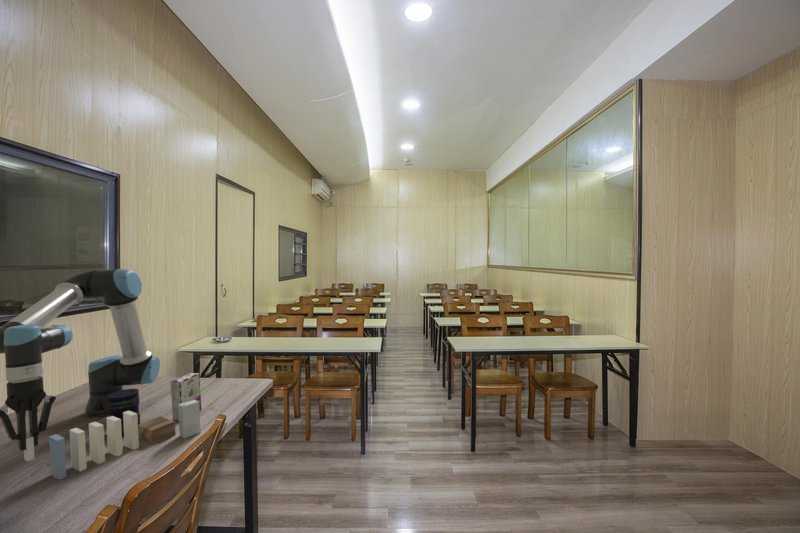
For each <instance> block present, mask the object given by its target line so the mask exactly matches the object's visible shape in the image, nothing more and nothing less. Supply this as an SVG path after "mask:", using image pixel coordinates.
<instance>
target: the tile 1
mask: <svg viewBox="0 0 800 533" xmlns="http://www.w3.org/2000/svg"><path fill="white" fill-rule="evenodd" d="M69 444H70V445H69V448H70V465H71V466H72V467H73V468H72V467H71V468H72V469H74V468H75V469H74V470H76V469H77V470H78V472H79V471H80V472H83V471H84V469H85V470H87V451H86V432H85V430H83V429H80V428H78V427H74V428H71V429H69ZM77 470H76V471H77ZM82 470H83V471H82Z"/></svg>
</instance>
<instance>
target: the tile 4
mask: <svg viewBox="0 0 800 533" xmlns="http://www.w3.org/2000/svg"><path fill="white" fill-rule="evenodd" d="M123 423H124V436H123V437H124V438H123V439H124V442H123V443H124V447H126V448H129V449H130V450H132V451H133V450H134V451H135V450H136V449H139V448H140V442H139V440H140V439H139V438H138V418H137V413H134V412H131V411H126V412H123Z"/></svg>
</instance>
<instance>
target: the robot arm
mask: <svg viewBox="0 0 800 533" xmlns="http://www.w3.org/2000/svg"><path fill="white" fill-rule="evenodd" d="M142 284H143V283H142V279H141V277H140V275H139V274H138V272H136V271H134V270H132V269H129V268H128V269H123V268H116V269H92V270H91V269H90V270H86V271H82V272H79V273H77V274H75V275H73V276H70V277H68V278H67V279H65V280H63V281H62V282H60V283H58V284H57V285H56V286H55V287H54V290H53V291H52V292H51V293H49V294H47V295H46V296H44V297H42V298H41V299H40V300H39V301H37V302H35V303H34V304H33V305H31V306H29V307H28V308H27V309H25V310H24V311H22V312H21V313H20V314H18V315H17V316H15V317H13V318H12V319H10V321H9V320H8V322H6V323H5V324H4V325H2V326H0V354H4V357H5V358H4V360H5V381H7V383H6V385H5V386H6V400H5V401H4V404H3V405H2V406H1V407H0V420H1V423H2V425H3V427H4V429H5V430H4V431H5V432H6V434H7V437H8V438H9V439H10V440H12V441H16V440H18V449H19V450H20V452H21V451H23V460H25V461H26V462H30V461H32V460H35V447H37V446H38V445H39V435H40V434H41V433H42V432H45V431H46V430H47V427H48V424H49V418H50V415H51V410H52V406H53V405H54V402H55V401H56V399H57V397H56V395H55V396H54V395H52V394H51V395H50V394H47V393H46V392H45V389H44V377H43V376H42V375H43V363H42V362H43V359H42V358H43V355H42V354H45V353H46V352H50V351H54V350H59V349H61V348H63V347H65V346H68V345H69V344H70V343H71V342H72V339H73V335H74V334H73V330H72V329H71V328H70V327H69V326H67V325H65V324H52V325H49V326H48V324H49V323H51V322H52V321H54V319H56V318H57V317H59V316H60V315H61V314H62V313H64V312H65V311H66V310H68V309H69V308H70V307H72V306H74V305H78V304H80V303H81V302H83V301H86V300H93V299H94V300H95V299H96V300H98V299H100V300H101V299H102V302H103V305H104V306H106V307H108V308H109V309H110V313H111V316H112V320H113V324H114V328H115V332H116V336H117V339H118V341H119V342H118V343H119V347H120V349H121V350H120V351H121V353H122V355H119V354H118V355H110V356H106V357H103V358H99V359H96V360H93V361H91V362H90V363H89V364H88V368H87V369H88V370H87V371H88V372H87V374H88V390H89V391H88V392H89V396H88V400H87V402H86V406H85V408H84V415H85V416H86V417H88V418H95V417H98V418H99V417H104V416H108V415H109V411H108V395H109V394H111V393H113V392H116V391H120V390H124V389H123V387H125V386H136V385H137V386H138V385H142V386H144V385H149V384H152V383H154V382H155V380H156V378H157V377H158V375H159V372H160V367H161V366H160V365H161V362H160V361H161V360H160V358H159V357H157V356H153V354H152V351H151V350H149V349H147V347H146V342H145V338H144V334H143V330H142V327H141V322H140V319H139V318H140V317H139V315H138V314H139V313H138V310H137V307H136V301H137V300H138V299H139V296H140V295H141V293H142V290H143V289H142V287H143V285H142ZM46 325H47V326H46ZM42 402H43V406H42V411H41V414H40V418H39V422H38V407H40V405H41V403H42ZM9 409H10V410H12V411H14V413H15V415H16V428H17V431H16V430H15V427H14V425H13V423H12V421H11V418H10V416H9V415H8V413H9ZM26 412H27V413H28V425H29V434H28V435H27V424H26V415H27V413H26Z"/></svg>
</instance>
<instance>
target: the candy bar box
mask: <svg viewBox="0 0 800 533" xmlns="http://www.w3.org/2000/svg"><path fill="white" fill-rule="evenodd" d="M200 380H201V379H200V372H189V373H187V374H185V375H182V376H180V377H177V378H176V379H173V380H171V381H170V394H171V396H170V397H171V410H172V411H171V414H172V421H175V422H176V421H178V422H179V413H178V404H182V403H185V402H188V401H192V400H196V401H198V402H199V411H202V399H201V398H202V396H201V395H202V394H201V381H200Z"/></svg>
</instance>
